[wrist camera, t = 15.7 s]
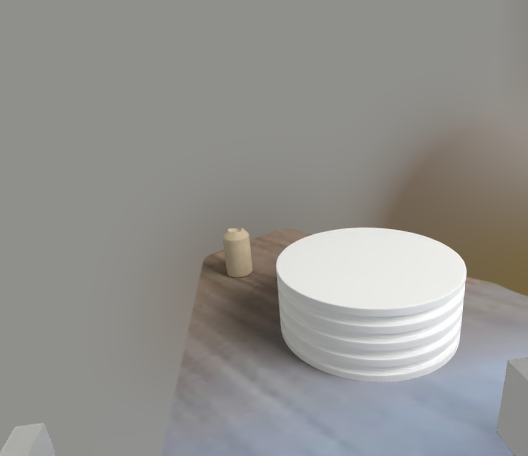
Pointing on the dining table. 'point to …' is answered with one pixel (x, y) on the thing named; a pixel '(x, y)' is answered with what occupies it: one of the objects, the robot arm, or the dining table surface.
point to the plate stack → (371, 303)
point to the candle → (237, 252)
